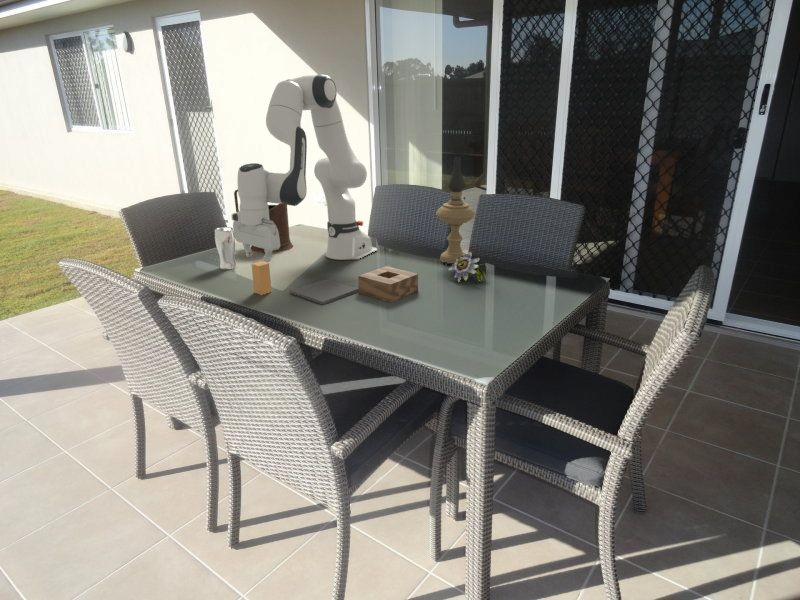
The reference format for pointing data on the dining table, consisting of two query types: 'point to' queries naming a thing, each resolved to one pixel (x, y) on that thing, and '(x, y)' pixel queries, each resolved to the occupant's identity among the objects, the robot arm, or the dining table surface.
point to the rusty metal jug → (280, 220)
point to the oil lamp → (455, 214)
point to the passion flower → (467, 267)
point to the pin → (261, 277)
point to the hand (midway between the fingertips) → (258, 259)
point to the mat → (324, 291)
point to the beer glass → (225, 247)
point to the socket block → (388, 283)
